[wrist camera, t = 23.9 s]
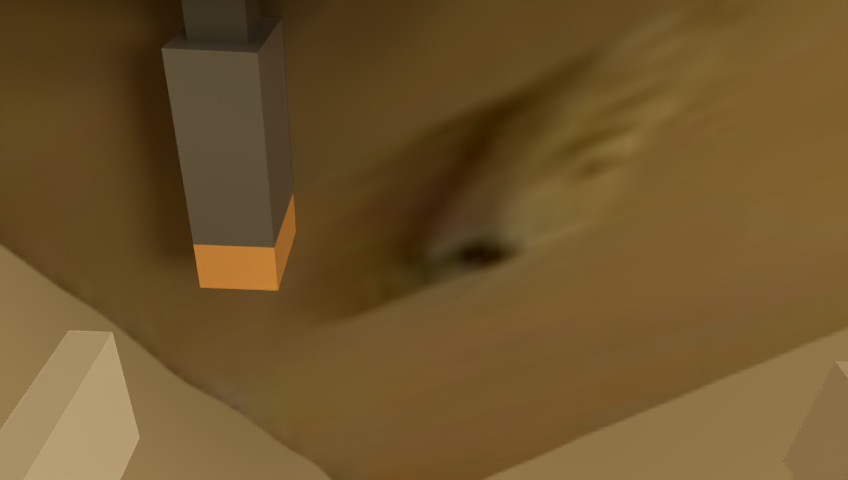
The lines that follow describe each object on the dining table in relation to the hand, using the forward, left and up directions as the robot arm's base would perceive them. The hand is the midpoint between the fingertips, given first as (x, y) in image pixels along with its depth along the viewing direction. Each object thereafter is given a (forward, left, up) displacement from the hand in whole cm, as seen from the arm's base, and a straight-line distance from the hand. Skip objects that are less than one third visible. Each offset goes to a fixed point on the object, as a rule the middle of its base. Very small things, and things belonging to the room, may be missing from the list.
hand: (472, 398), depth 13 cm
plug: (+8, -11, -29) cm, 32 cm away
